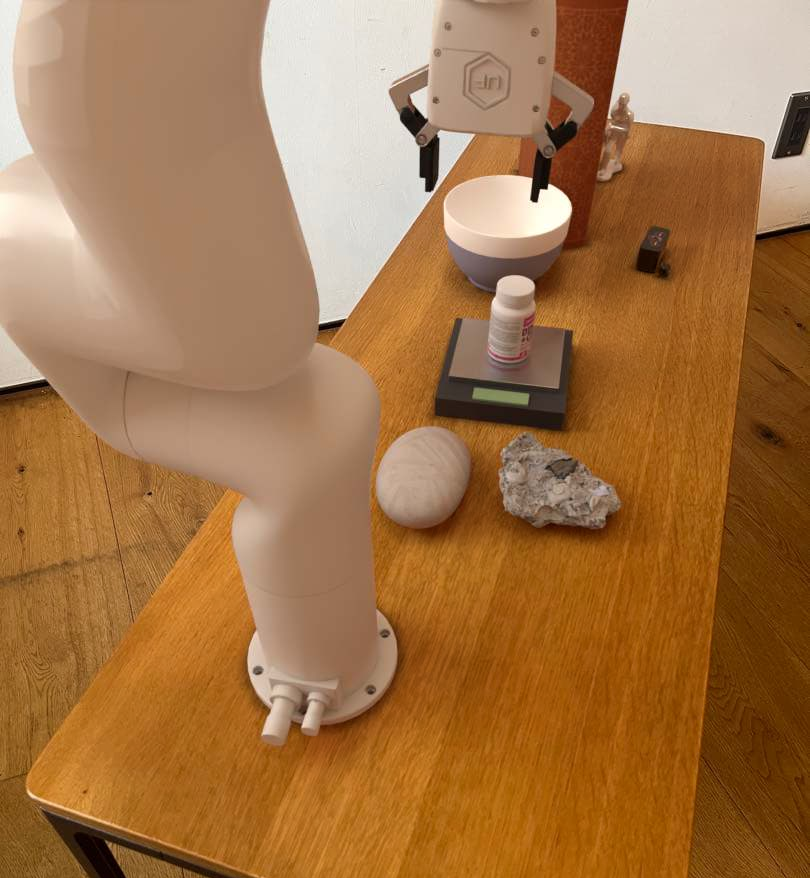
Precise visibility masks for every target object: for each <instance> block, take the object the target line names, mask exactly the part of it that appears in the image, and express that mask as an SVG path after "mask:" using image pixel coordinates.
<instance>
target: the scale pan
mask: <svg viewBox="0 0 810 878" xmlns="http://www.w3.org/2000/svg"><path fill="white" fill-rule="evenodd" d="M462 319H463V321H462V325H461V329H460V332H459V336H458V340H457V344H456V348H455V352H454V356H453V360H452V364H451V368H450V372H449V379H448V381H452V382H460V383H469V384H477V385H486V386H494V387H503V388H511V389H520V390H529V391H537V392H546V393H554V394H558V390H559V382H560V372H561V363H562V354H563V345H564V336H565V330H566V328H563V327H555V326H553V327H552V326H545V325H544V326H543V325H535V324H533V331H532V337H531V344H530V351H529V354H528V356H527V357H526V358H525V359H524V360H522V361H520V362H517V363H504V362H500V361H497V360H495V359H493V358H492V357H491V356H490V355H489V353H488V349H487V346H488V338H489V328H490V320H489V319H488V320H487V319H479V318H478V319H477V318H469V317H462Z"/></svg>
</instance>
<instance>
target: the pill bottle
mask: <svg viewBox="0 0 810 878" xmlns="http://www.w3.org/2000/svg"><path fill="white" fill-rule="evenodd" d="M535 292H536V284H535V283H534V281H531V280H530V279H529V278H526V277H523V276H518V275H511V276H506V277H504V278H502V279H500V280H499V281H498V283H497V290H496V292H495V296H494V297H493V299H492V301H491V305H490V318H489V321H490V328H489V338H488V346H487V349H488V353H489V355H490V356H491V357H492V358H493V359H495V360H497V361H500V362H504V363H517V362H520V361H522V360H524V359H525V358H526V357H527V356H528V354H529V351H530V344H531V337H532V331H533V325H535V324H534V323H535V318H536V317H535V316H536V308H537V305H536V302H535V300H534V298H535Z"/></svg>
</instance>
